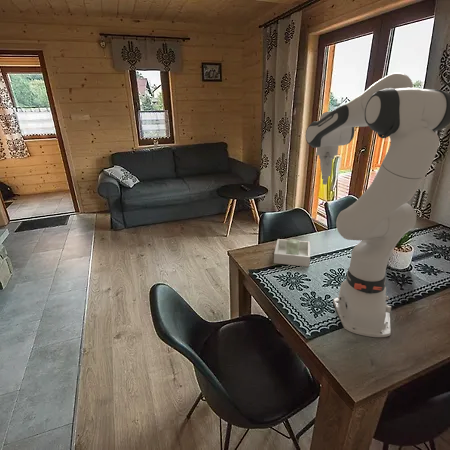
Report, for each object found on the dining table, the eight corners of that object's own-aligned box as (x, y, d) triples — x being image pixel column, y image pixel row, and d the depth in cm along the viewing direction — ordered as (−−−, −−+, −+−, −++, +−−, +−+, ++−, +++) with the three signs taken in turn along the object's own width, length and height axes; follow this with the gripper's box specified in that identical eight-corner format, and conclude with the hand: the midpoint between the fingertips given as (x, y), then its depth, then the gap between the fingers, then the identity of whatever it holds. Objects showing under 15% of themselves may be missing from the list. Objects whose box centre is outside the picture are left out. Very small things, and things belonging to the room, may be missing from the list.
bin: (309, 266, 130) (310, 257, 128) (273, 263, 134) (274, 253, 132) (309, 250, 144) (310, 241, 143) (277, 247, 149) (277, 238, 147)
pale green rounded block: (298, 258, 136) (299, 245, 133) (285, 257, 137) (286, 244, 134) (299, 252, 141) (299, 239, 138) (286, 251, 142) (287, 238, 140)
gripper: (336, 154, 116) (333, 187, 122) (333, 147, 134) (330, 176, 140) (320, 154, 118) (317, 187, 123) (319, 147, 136) (316, 176, 141)
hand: (324, 181), depth 132 cm, fingers open, 8 cm apart
